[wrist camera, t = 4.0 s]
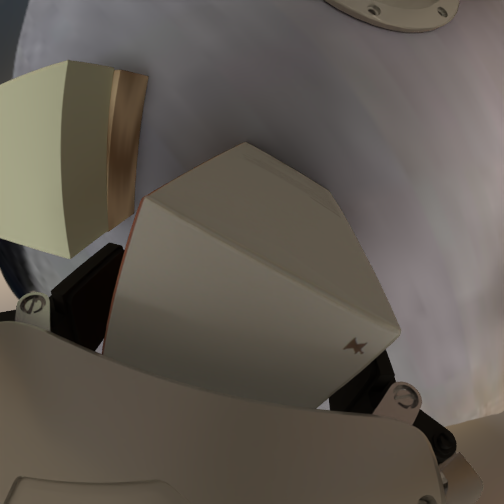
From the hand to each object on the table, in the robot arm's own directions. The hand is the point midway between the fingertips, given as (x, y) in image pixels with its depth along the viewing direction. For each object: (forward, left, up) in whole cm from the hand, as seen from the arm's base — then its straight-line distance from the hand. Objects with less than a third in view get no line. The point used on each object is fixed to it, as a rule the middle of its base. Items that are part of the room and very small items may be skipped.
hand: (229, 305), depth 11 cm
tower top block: (-4, -14, -5) cm, 15 cm away
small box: (-1, 0, -9) cm, 9 cm away
